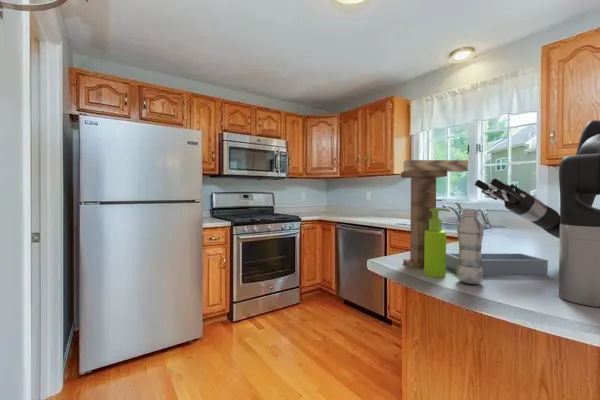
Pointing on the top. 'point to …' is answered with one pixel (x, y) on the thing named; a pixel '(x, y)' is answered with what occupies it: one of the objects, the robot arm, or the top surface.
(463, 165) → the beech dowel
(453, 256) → the slate tray
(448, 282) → the top surface
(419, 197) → the walnut stand
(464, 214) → the plastic bottle
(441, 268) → the soap dispenser
